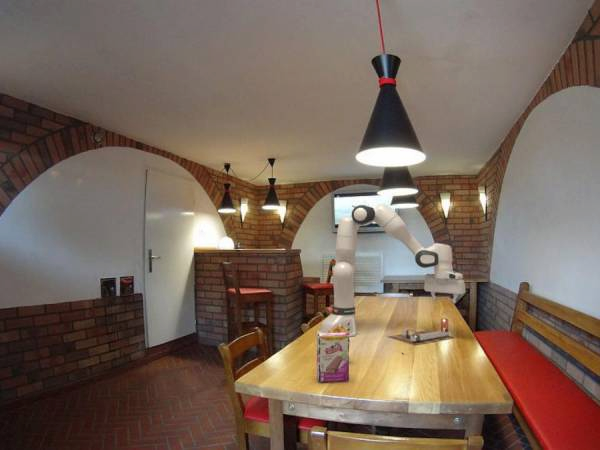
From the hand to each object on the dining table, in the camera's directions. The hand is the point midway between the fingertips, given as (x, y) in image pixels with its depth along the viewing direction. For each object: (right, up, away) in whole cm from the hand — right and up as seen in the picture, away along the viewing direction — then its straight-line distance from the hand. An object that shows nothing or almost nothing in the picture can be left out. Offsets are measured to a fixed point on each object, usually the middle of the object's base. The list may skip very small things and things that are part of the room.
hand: (444, 301), depth 189 cm
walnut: (-17, -18, -4) cm, 25 cm away
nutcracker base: (-12, -19, -1) cm, 23 cm away
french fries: (-58, -18, -35) cm, 70 cm away
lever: (-9, -17, -6) cm, 20 cm away
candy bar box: (-62, -17, -55) cm, 84 cm away
